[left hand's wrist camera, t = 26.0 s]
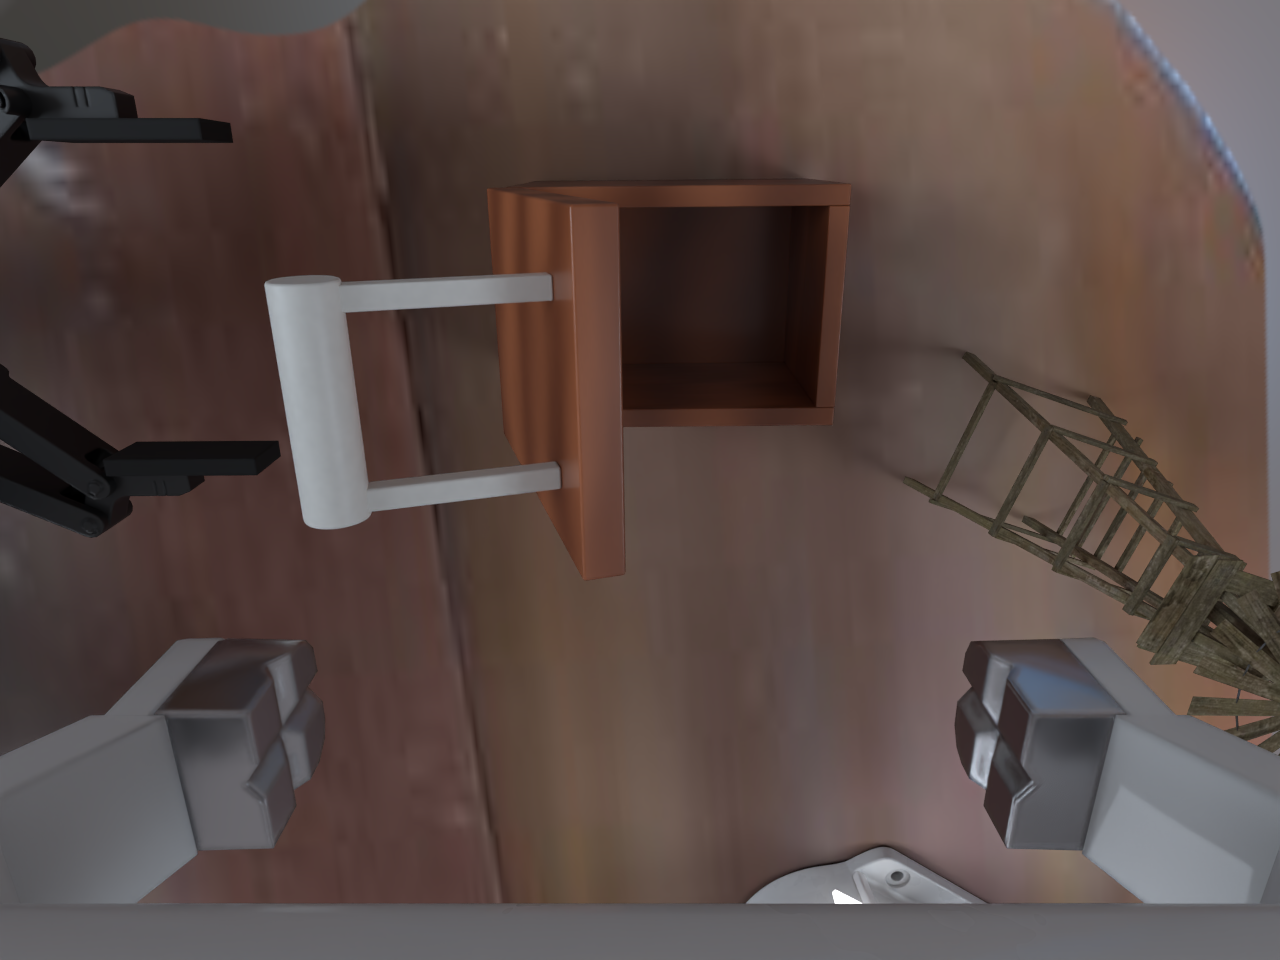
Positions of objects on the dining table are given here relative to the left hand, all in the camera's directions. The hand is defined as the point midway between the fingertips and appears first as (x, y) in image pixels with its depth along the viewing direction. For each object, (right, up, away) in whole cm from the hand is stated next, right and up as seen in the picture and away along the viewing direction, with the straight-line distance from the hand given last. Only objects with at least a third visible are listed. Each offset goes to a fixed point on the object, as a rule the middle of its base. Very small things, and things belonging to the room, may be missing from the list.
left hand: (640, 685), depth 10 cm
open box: (+2, +13, +34) cm, 37 cm away
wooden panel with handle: (-3, +7, +18) cm, 20 cm away
